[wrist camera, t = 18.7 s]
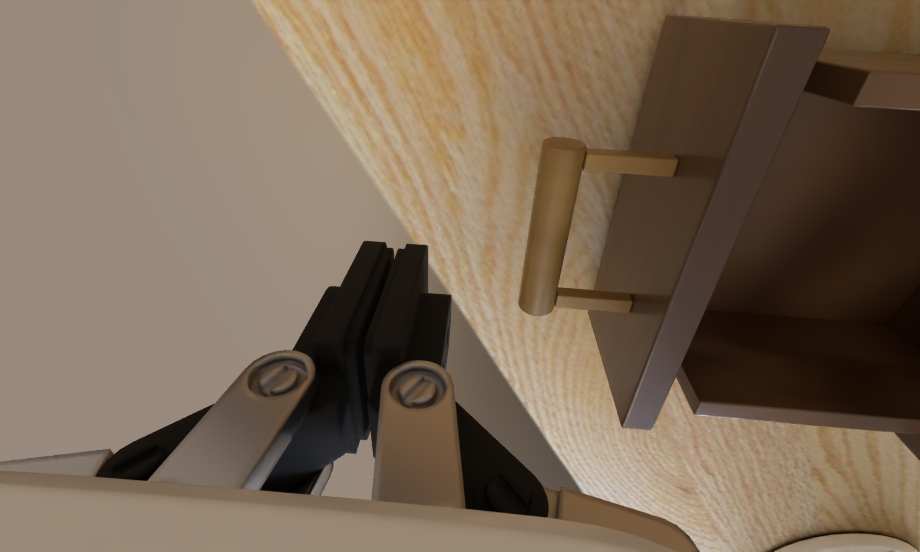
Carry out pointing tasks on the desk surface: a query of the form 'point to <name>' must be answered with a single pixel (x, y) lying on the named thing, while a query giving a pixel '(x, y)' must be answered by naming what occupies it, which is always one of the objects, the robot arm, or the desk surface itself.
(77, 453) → the robot arm
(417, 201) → the desk surface
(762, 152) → the drawer
